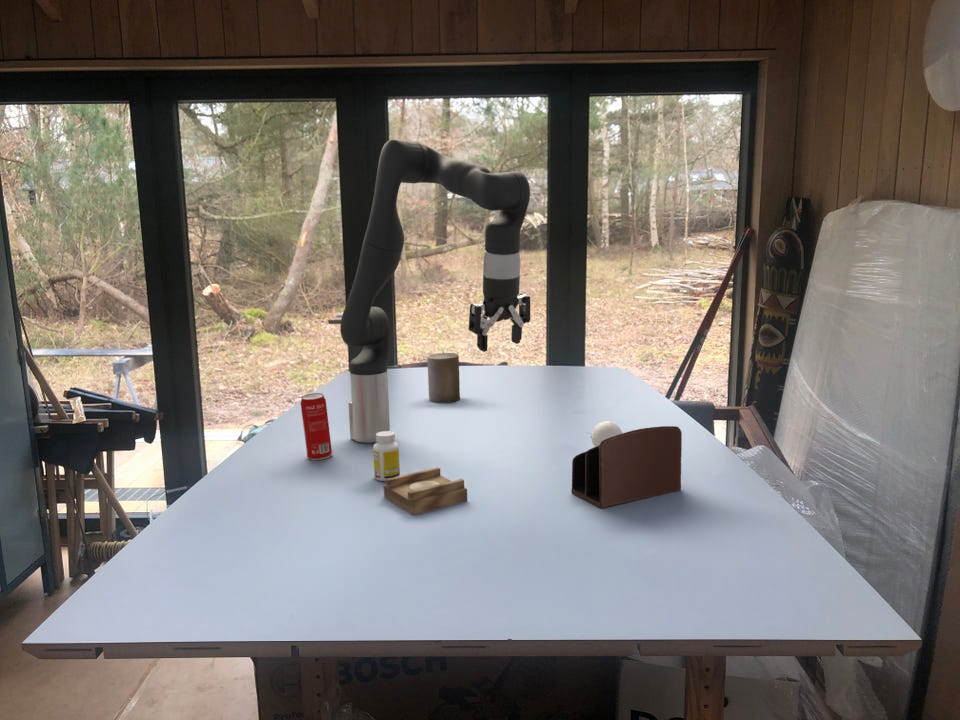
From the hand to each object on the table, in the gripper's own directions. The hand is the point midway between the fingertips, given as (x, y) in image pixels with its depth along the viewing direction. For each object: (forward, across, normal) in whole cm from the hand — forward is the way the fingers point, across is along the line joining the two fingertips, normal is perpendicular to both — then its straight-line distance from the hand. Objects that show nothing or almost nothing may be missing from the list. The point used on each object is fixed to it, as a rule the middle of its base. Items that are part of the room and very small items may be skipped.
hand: (499, 346), depth 161 cm
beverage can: (+31, +31, -29) cm, 52 cm away
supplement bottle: (+27, +24, -6) cm, 37 cm away
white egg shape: (+29, -24, +9) cm, 39 cm away
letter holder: (+23, -10, +31) cm, 40 cm away
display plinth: (+24, +24, +10) cm, 35 cm away
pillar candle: (+42, -23, -58) cm, 75 cm away
